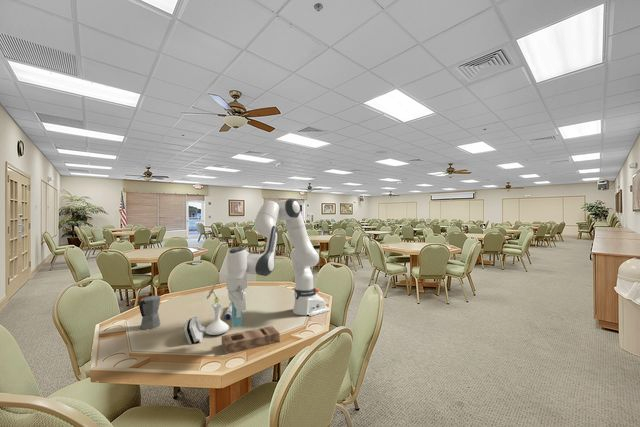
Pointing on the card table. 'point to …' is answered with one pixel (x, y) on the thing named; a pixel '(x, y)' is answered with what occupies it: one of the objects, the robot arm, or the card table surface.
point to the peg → (236, 320)
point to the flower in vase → (216, 318)
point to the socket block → (250, 339)
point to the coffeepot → (150, 312)
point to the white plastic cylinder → (228, 313)
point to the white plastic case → (194, 330)
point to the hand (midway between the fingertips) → (237, 315)
